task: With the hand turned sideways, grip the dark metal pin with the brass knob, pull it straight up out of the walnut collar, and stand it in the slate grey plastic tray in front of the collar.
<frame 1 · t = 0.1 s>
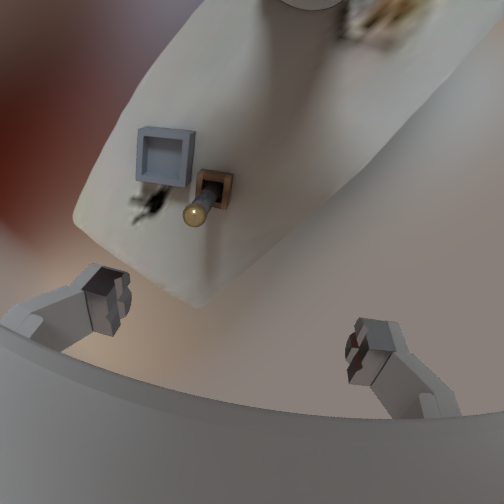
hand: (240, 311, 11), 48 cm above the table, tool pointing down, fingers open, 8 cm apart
pin: (205, 200, 51), in the collar
tray: (167, 154, 56), on the table
collar: (215, 186, 58), on the table
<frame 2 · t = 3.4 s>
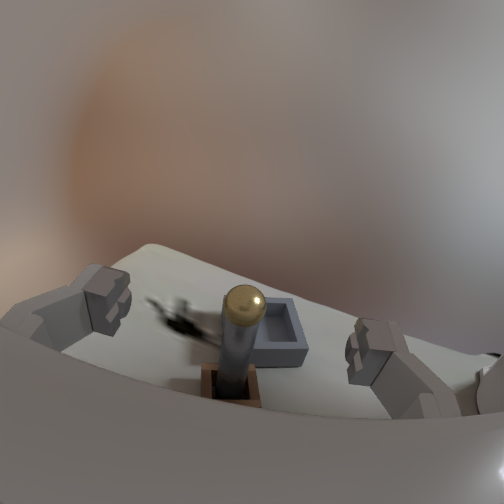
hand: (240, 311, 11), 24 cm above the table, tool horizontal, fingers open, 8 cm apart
pin: (235, 355, 29), in the collar
tray: (259, 339, 42), on the table
collar: (227, 399, 33), on the table
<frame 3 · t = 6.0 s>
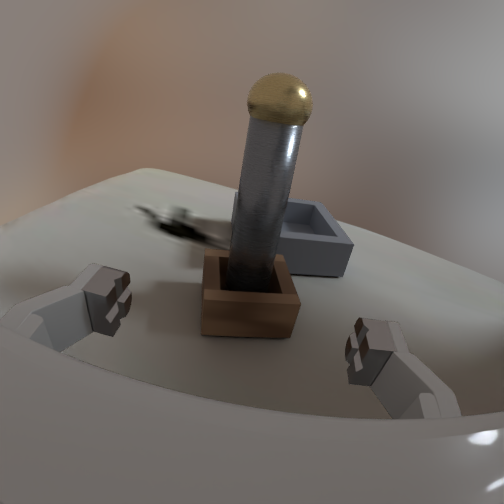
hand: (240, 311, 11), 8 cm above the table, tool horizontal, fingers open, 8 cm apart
pin: (261, 205, 19), in the collar
tray: (282, 246, 32), on the table
collar: (242, 307, 23), on the table
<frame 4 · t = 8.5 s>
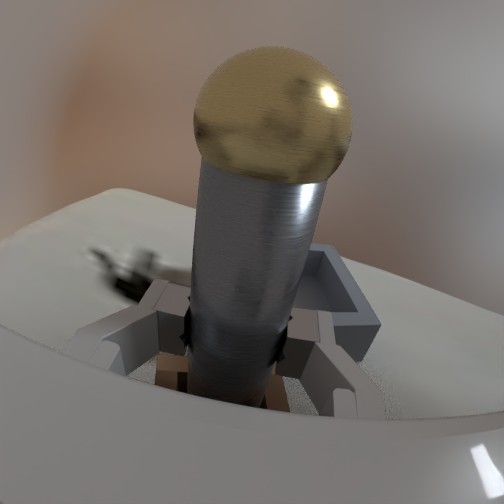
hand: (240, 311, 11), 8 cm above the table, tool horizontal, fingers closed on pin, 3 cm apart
pin: (236, 328, 10), in the collar, touching gripper
tray: (279, 313, 23), on the table
collar: (217, 437, 14), on the table
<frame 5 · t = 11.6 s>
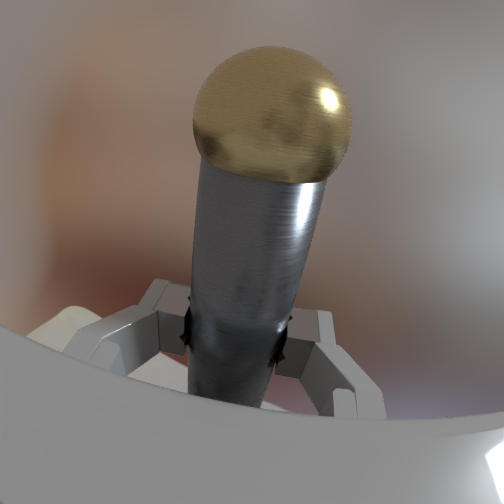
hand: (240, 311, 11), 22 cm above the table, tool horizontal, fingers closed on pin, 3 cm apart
pin: (236, 327, 10), point 22 cm above the table, touching gripper
when the fingers open (10 cm above the table, at t = 14.7 s): pin stays where it is, resting on tray.
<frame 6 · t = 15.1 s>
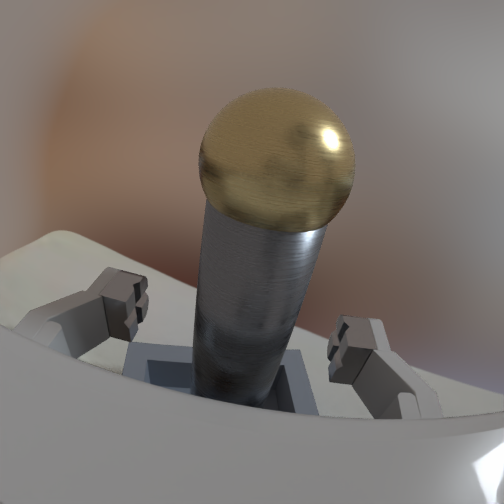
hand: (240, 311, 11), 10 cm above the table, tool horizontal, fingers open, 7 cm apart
pin: (237, 350, 10), in the tray, point 9 cm above the table
tray: (215, 451, 15), on the table
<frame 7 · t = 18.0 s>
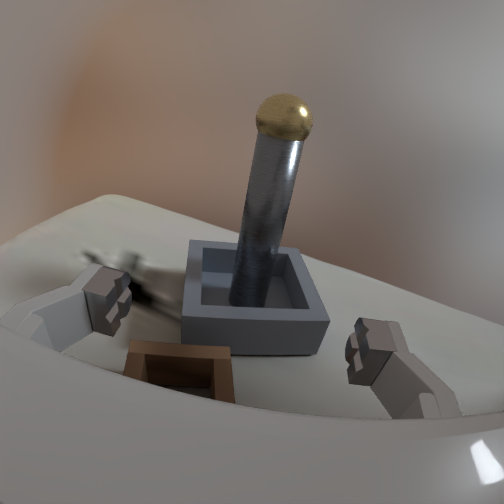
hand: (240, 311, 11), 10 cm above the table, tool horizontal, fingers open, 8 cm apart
pin: (266, 209, 22), in the tray, point 9 cm above the table
tray: (244, 309, 26), on the table
collar: (178, 411, 17), on the table
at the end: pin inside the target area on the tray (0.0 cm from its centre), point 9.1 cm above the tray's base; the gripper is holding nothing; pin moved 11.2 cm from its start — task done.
